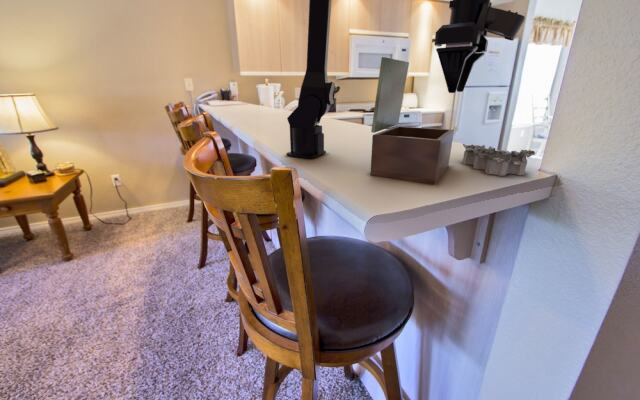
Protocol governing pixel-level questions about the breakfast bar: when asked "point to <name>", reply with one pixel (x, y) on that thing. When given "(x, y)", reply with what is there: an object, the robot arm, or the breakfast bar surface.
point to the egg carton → (496, 160)
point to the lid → (389, 93)
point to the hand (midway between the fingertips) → (456, 92)
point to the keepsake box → (411, 153)
